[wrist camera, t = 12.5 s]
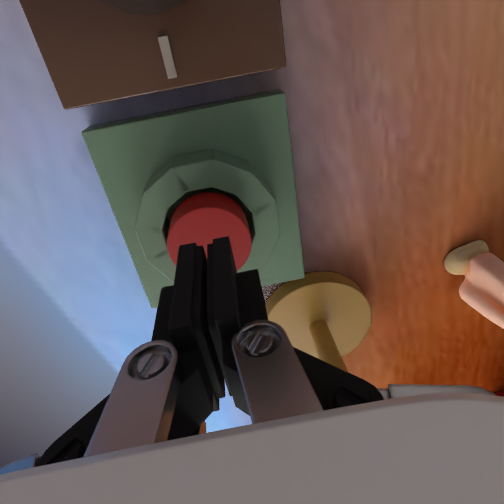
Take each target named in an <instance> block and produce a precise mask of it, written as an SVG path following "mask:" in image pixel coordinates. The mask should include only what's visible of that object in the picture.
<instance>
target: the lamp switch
mask: <svg viewBox="0 0 504 504" xmlns="http://www.w3.org/2000/svg"><path fill="white" fill-rule="evenodd" d="M226 236H229V239H230V243H231V247H232V252H233V256H234V261H235V265H236V270H237V271H238V270H239V269H240V268H241V267H242V266H243V265H244V264H245V262H246V261H247V259H248V257H249V255H250V252H251V246H252V241H251V235H250V230H249V226H248V222H247V218H246V215H245V213H244V211H243V209H242V208H241V207H240V205H239V204H238V203H237V202H235V201H234V200H233V199H231V198H230V197H228V196H226V195H223V194H220V193H214V192H203V193H198V194H195V195H192V196H190V197H188V198H186V199H185V200H184V201H182V202H181V203H180V204H179V205H178V207H177V208H176V209H175V211H174V213H173V215H172V218H171V223H170V228H169V233H168V238H167V249H168V253H169V256H170V258H171V260H172V262H173V263H174V264H175V266H176V265H177V257H178V250H179V246H180V245H185V244H190V243H195V242H196V244H197V246H202V245H203V247H204V250H205V254H206V258H207V244H212V243H213V239H216V238H221V237H226Z"/></svg>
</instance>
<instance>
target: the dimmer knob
mask: <svg viewBox="0 0 504 504" xmlns="http://www.w3.org/2000/svg"><path fill="white" fill-rule="evenodd" d="M98 1H100V2H103V3H105V4H108V5H110V6H113V7H115V8H117V9H120V10H123V11H126V12H129V13H134V14H142V15H149V14H157V13H161V12H165V11H167V10H169V9H172V8H174V7H175V6H177V5H178V4H180V3H181V2H182V1H184V0H98Z"/></svg>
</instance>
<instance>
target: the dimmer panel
mask: <svg viewBox="0 0 504 504" xmlns="http://www.w3.org/2000/svg"><path fill="white" fill-rule="evenodd" d="M19 1H20V3H21V5H22V8H23V10H24V13H25V15H26V18H27V20H28V22H29V25H30V27H31V30H32V32H33V35H34V37H35V40H36V42H37V44H38V47H39V49H40V52H41V54H42V57H43V59H44V61H45V64H46V66H47V69H48V71H49V74H50V76H51V78H52V81H53V83H54V86H55V88H56V91H57V93H58V95H59V98H60V100H61V103H62V105H63V108H64V109H66V110H67V109H72V108H78V107H83V106H88V105H93V104H98V103H104V102H109V101H114V100H119V99H124V98H130V97H135V96H140V95H145V94H150V93H156V92H161V91H166V90H171V89H176V88H182V87H187V86H192V85H197V84H202V83H208V82H213V81H218V80H223V79H228V78H234V77H239V76H244V75H249V74H254V73H260V72H265V71H270V70H275V69H280V68H285V67H286V57H285V47H284V37H283V27H282V17H281V7H280V0H184V1H182V2H181V3H180V4H178V5H177V6H175V7H174V8H172V9H169V10H167V11H165V12H161V13H157V14H149V15H142V14H134V13H129V12H126V11H123V10H120V9H117V8H115V7H113V6H110V5H108V4H105V3H103V2H100V1H98V0H19Z"/></svg>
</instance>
